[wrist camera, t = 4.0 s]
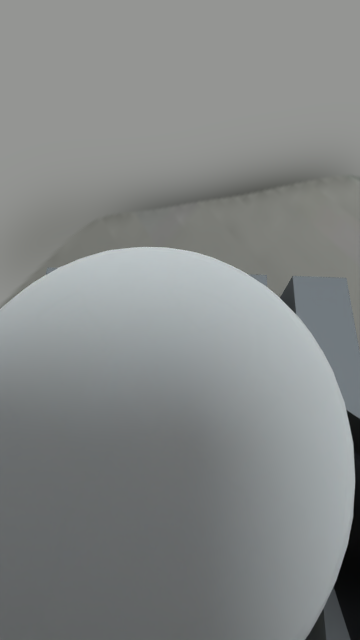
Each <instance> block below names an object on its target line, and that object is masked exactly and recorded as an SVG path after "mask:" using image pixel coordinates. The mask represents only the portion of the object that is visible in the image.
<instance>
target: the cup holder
mask: <svg viewBox="0 0 360 640" xmlns="http://www.w3.org/2000/svg"><path fill="white" fill-rule="evenodd" d="M56 269H57V268H48V269H47V272H46V275H47V274H49V273H50V272H52V271H54V270H56ZM249 276H251V277H253V278H254V279H256V280H257V281H259V282H260V283H262V284H263V285H265V286H266V287H267V275H249ZM280 299H281V300H282V301H283V302H284V303H285V304H286V305H287V306H288V307H289V308H290V309H291V310H292V311H293V312H294V313H295V314H296V315H297V316H298V317H299V318H300V319H301V321H302V322H303V323H304V324H305V326H306V327H307V328H308V330H309V331H310V332H311V334H312V335H313V337H314V338H315V340H316V342H317V343H318V345H319V346H320V348H321V350H322V351H323V353H324V355H325V357H326V359H327V360H328V362H329V364H330V366H331V368H332V370H333V372H334V375H335V378H336V381H337V384H338V386H339V389H340V392H341V394H342V397H343V399H344V402H345V407H346V410H348V411H349V412H351V413H352V414H354V415H355V416H357V417H358V418H360V352H359V346H358V341H357V335H356V329H355V324H354V318H353V313H352V307H351V302H350V296H349V290H348V285H347V279H346V278H335V277H306V276H292V278H291V280H290V282H289V283H288V285H287V287H286V288H285V290H284V292H283V294H282V295H281V297H280ZM305 640H350V637H349V634H348V630H347V627H346V624H345V621H344V618H343V615H342V612H341V609H340V606H339V602H338V599H337V596H336V593H335V590H334V587H333V589H332V591H331V593H330V595H329V598H328V600H327V602H326V604H325V606H324V608H323V610H322V612H321V614H320V615H319V617H318V619H317V621H316V623H315V624H314V626H313V628H312V630H311V632H310V633H309V635H308V636H307V637H306V639H305Z"/></svg>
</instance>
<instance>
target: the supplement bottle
mask: <svg viewBox="0 0 360 640" xmlns="http://www.w3.org/2000/svg"><path fill="white" fill-rule="evenodd" d="M354 493H355V465H354V447H353V439H352V435H351V430H350V425H349V420H348V416H347V411H346V407H345V402H344V399H343V397H342V394H341V392H340V389H339V386H338V384H337V381H336V378H335V375H334V372H333V370H332V368H331V366H330V364H329V362H328V360H327V359H326V357H325V355H324V353H323V351H322V350H321V348H320V346H319V345H318V343H317V342H316V340H315V338H314V337H313V335H312V334H311V332H310V331H309V330H308V328H307V327H306V326H305V324H304V323H303V322H302V321H301V319H300V318H299V317H298V316H297V315H296V314H295V313H294V312H293V311H292V310H291V309H290V308H289V307H288V306H287V305H286V304H285V303H284V302H283V301H282V300H281V299H280V298H279V297H278V296H277V295H276V294H275V293H274V292H272V291H271V290H270V289H269V288H268V287H266V286H265V285H263V284H262V283H260V282H259V281H257V280H256V279H254V278H253V277H251V276H249V275H248V274H246V273H244V272H243V271H241V270H239V269H237V268H235V267H233V266H231V265H229V264H226V263H224V262H222V261H219V260H217V259H215V258H212V257H209V256H206V255H202V254H199V253H196V252H192V251H186V250H179V249H173V248H165V247H136V248H126V249H116V250H108V251H105V252H101V253H98V254H94V255H91V256H88V257H84V258H81V259H79V260H76V261H74V262H71V263H69V264H67V265H64V266H62V267H59V268H57V269H56V270H54V271H52V272H50V273H49V274H47V275H45V276H44V277H42V278H40V279H38V280H37V281H35V282H34V283H32V284H31V285H29V286H28V287H27V288H25V289H24V290H22V291H21V292H20V293H19V294H18V295H16V296H15V297H14V298H13V299H11V300H10V301H9V302H8V303H7V304H5V305H4V306H3V307H2V308H1V309H0V640H305V639H306V637H307V636H308V635H309V633H310V632H311V630H312V628H313V626H314V624H315V623H316V621H317V619H318V617H319V615H320V614H321V612H322V610H323V608H324V606H325V604H326V602H327V600H328V598H329V595H330V593H331V591H332V589H333V587H334V584H335V582H336V580H337V577H338V574H339V571H340V567H341V564H342V561H343V558H344V555H345V552H346V549H347V546H348V541H349V535H350V530H351V525H352V520H353V509H354Z"/></svg>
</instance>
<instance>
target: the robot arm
mask: <svg viewBox="0 0 360 640" xmlns="http://www.w3.org/2000/svg"><path fill="white" fill-rule="evenodd" d="M346 411H347V416H348V420H349V425H350V430H351V435H352V439H353V447H354V465H355V493H354V509H353V520H352V525H351V530H350V535H349V541H348V546H347V549H346V552H345V555H344V558H343V561H342V564H341V567H340V571H339V574H338V577H337V580H336V582H335V584H334V590H335V593H336V596H337V599H338V602H339V606H340V609H341V612H342V615H343V618H344V621H345V624H346V627H347V630H348V634H349V637H350V640H360V418H358V417H357V416H355V415H354V414H352V413H351V412H349V411H348V410H346Z"/></svg>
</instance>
